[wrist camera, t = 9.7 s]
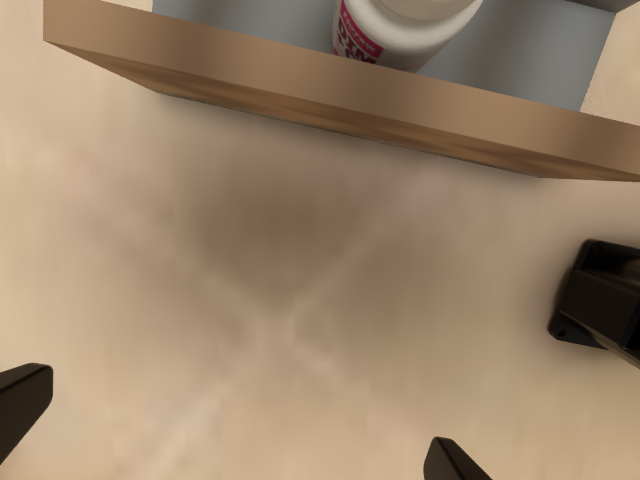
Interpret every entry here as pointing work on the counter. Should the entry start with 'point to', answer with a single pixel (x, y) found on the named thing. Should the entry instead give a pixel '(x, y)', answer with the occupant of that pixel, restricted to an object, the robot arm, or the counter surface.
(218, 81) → the cleat board
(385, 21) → the pill bottle
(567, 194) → the counter surface
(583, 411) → the counter surface
